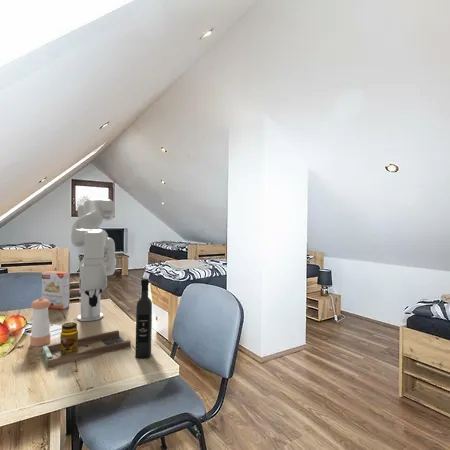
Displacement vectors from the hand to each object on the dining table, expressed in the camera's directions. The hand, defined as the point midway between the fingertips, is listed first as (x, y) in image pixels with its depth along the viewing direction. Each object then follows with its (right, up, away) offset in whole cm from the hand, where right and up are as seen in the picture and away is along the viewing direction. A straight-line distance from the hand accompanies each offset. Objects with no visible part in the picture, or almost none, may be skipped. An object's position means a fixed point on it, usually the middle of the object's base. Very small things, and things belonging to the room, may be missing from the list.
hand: (93, 305), depth 127 cm
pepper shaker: (-24, -17, +4) cm, 29 cm away
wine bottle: (+22, -18, -6) cm, 29 cm away
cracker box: (-45, -15, +53) cm, 71 cm away
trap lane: (-2, -17, -2) cm, 17 cm away
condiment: (-7, -18, -6) cm, 20 cm away
